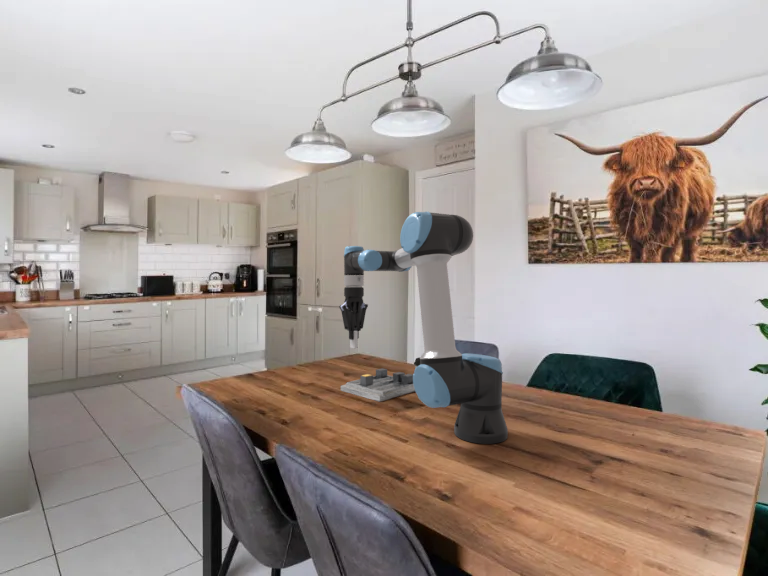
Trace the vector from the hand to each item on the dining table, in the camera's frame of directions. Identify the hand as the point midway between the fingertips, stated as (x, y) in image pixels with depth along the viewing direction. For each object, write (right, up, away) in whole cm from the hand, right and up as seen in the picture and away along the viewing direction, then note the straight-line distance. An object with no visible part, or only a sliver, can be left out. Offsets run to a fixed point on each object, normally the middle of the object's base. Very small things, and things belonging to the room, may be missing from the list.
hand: (353, 347), depth 166 cm
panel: (+11, -18, +9) cm, 23 cm away
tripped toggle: (+5, -16, +5) cm, 18 cm away
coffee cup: (+28, -19, -5) cm, 34 cm away
